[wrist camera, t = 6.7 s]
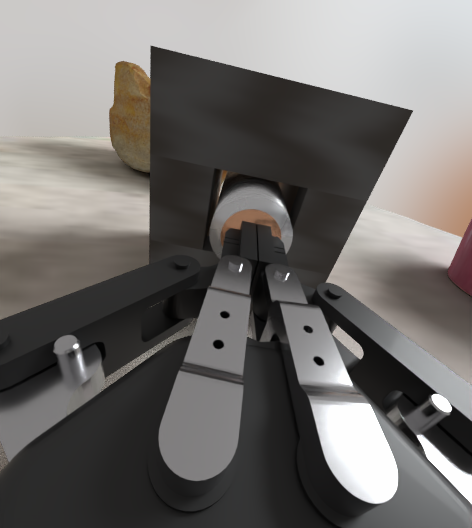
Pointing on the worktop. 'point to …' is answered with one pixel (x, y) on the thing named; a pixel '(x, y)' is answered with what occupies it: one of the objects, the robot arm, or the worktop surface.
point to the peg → (249, 209)
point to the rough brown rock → (132, 116)
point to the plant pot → (463, 263)
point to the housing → (260, 156)
